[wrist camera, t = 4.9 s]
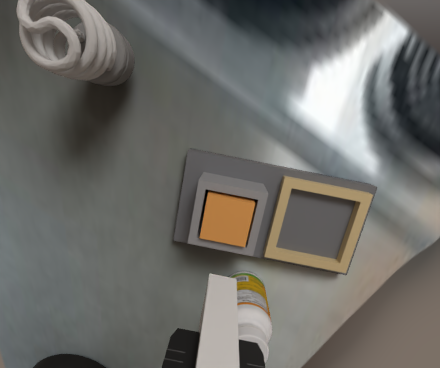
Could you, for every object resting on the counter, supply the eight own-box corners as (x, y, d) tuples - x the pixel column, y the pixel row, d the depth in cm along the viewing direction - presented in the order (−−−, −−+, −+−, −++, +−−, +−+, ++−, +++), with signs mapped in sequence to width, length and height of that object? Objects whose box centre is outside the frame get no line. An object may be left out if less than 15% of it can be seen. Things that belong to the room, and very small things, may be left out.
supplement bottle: (249, 313, 34) (255, 385, 25) (215, 293, 34) (208, 359, 24) (272, 283, 33) (288, 347, 24) (237, 262, 33) (238, 319, 23)
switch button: (203, 224, 29) (199, 238, 26) (210, 185, 28) (207, 194, 24) (243, 232, 29) (245, 247, 26) (252, 193, 28) (255, 203, 24)
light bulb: (156, 58, 28) (100, 12, 16) (128, 102, 29) (57, 89, 17) (112, 24, 27) (20, -52, 15) (85, 70, 28) (-19, 33, 17)
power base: (176, 235, 32) (164, 257, 27) (190, 148, 30) (180, 154, 24) (341, 268, 32) (363, 297, 27) (370, 184, 29) (400, 197, 24)
